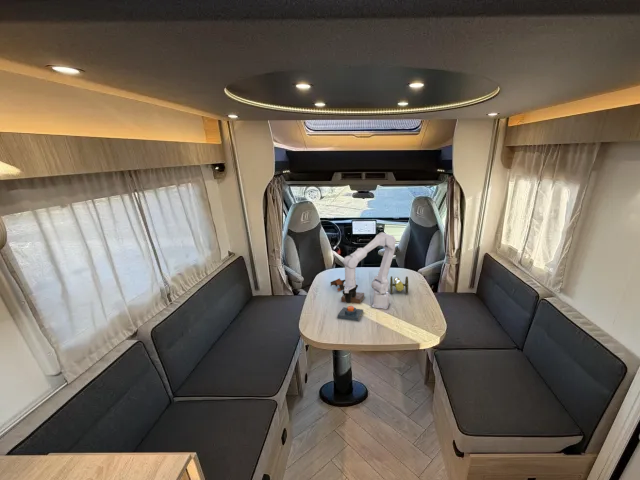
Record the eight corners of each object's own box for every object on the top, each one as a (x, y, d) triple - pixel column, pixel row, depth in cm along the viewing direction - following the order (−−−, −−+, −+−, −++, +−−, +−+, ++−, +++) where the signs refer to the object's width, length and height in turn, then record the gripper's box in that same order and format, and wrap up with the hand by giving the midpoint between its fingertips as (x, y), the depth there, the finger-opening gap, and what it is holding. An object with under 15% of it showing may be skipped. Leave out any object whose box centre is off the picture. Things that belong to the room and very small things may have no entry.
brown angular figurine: (334, 293, 205) (329, 282, 205) (332, 294, 214) (328, 283, 214) (351, 286, 208) (346, 275, 208) (348, 287, 217) (343, 276, 218)
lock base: (364, 297, 199) (364, 292, 198) (360, 303, 190) (360, 299, 189) (346, 295, 202) (346, 290, 201) (341, 301, 193) (341, 297, 192)
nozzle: (354, 309, 175) (354, 306, 175) (352, 311, 172) (352, 309, 172) (348, 308, 176) (348, 305, 176) (346, 311, 173) (346, 308, 172)
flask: (363, 312, 179) (363, 306, 177) (358, 321, 170) (358, 314, 168) (343, 310, 181) (343, 304, 180) (337, 318, 172) (337, 312, 171)
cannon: (388, 282, 222) (388, 267, 218) (404, 282, 222) (405, 267, 218) (390, 297, 199) (390, 280, 195) (408, 297, 199) (409, 280, 195)
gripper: (347, 272, 178) (347, 294, 183) (338, 281, 165) (339, 304, 169) (359, 273, 176) (359, 295, 181) (351, 282, 163) (351, 306, 168)
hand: (350, 299), depth 175 cm, fingers open, 7 cm apart
